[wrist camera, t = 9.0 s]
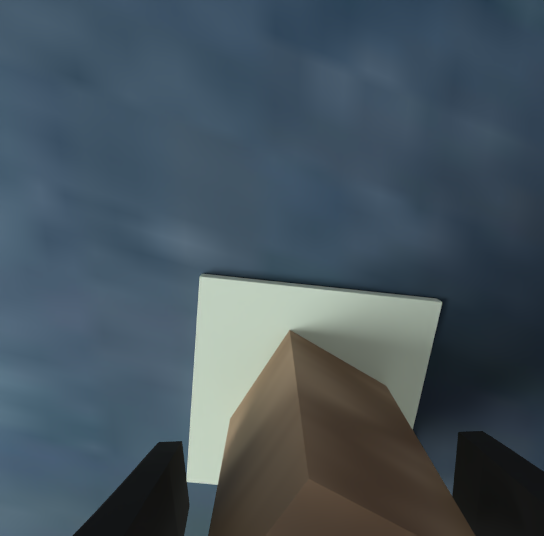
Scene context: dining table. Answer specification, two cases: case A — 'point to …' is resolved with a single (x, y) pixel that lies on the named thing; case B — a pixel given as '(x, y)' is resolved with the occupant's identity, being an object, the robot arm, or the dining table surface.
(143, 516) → the robot arm
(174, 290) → the dining table surface
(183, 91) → the dining table surface
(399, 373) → the sage mat
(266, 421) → the walnut block
